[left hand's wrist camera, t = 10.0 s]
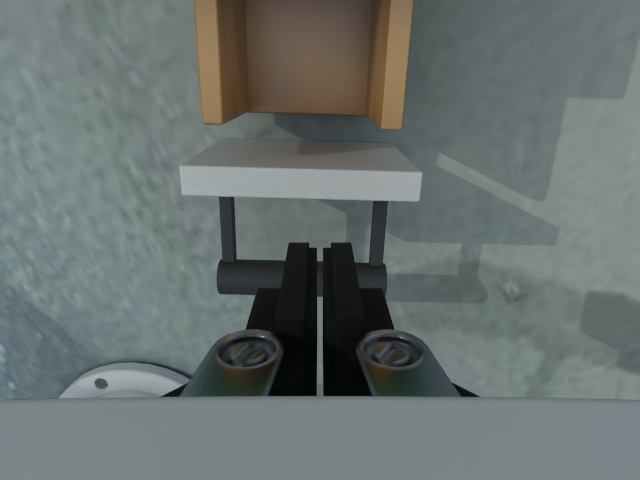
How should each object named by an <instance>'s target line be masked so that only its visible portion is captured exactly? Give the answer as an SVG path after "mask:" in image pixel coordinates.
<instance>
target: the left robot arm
mask: <svg viewBox="0 0 640 480" xmlns="http://www.w3.org/2000/svg"><path fill="white" fill-rule="evenodd" d="M316 395H317V248H309V243H289V245H288V251H287V256H286V261H285V267H284V272H283V277H282V283H281V288H258V290H257V293H256V296H255V300H254V303H253V306H252V310H251V313H250V316H249V320H248V323H247V327H246V330H242V331H237V332H234V333H231V334H228V335H226V336H224V337H222V338H221V339H219V340H218V341H217V342H216V343H215V344H214V345H213V346H212V348H211V349H210V351H209V352H208V354H207V355H206V357H205V358H204V360H203V361H202V363H201V364H200V366H199V367H198V369H197V370H196V372H195V373H194V375H193V376H192V378H191V379H188V378H187V377H185V376H183V375H181V374H179V373H176V372H174V371H172V370H169V369H167V368H163V367H159V366H155V365H151V364H144V363H134V362H129V363H114V364H110V365H105V366H101V367H97V368H95V369H93V370H91V371H88V372H86V373H84V374H82V375H81V376H80V377H78V378H77V379H76V380H74V381H73V382H72V383H71V384H70V385H69V386H68V387H67V388H66V389H65V391H64V392H63V393H62V394H61V395H60V397H59V398H53V399H21V400H0V480H640V400H621V399H584V398H525V397H479V396H477V395H475V394H473V393H471V392H469V391H467V390H465V389H464V388H462V387H460V386H458V385H456V384H454V383H452V382H451V381H450V379H449V378H448V376H447V375H446V373H445V372H444V370H443V369H442V367H441V366H440V364H439V363H438V361H437V360H436V358H435V357H434V355H433V354H432V352H431V351H430V349H429V348H428V346H427V345H426V344H425V343H424V342H423V341H422V340H421V339H419V338H418V337H416V336H414V335H412V334H409V333H406V332H403V331H398V330H394V327H393V323H392V320H391V316H390V313H389V310H388V306H387V303H386V300H385V296H384V293H383V290H382V288H359V283H358V277H357V272H356V267H355V261H354V256H353V251H352V245H351V243H331V248H323V395H324V396H316Z"/></svg>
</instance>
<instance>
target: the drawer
mask: <svg viewBox="0 0 640 480" xmlns="http://www.w3.org/2000/svg"><path fill="white" fill-rule="evenodd" d="M413 4H414V0H195V13H196V29H197V45H198V61H199V76H200V92H201V108H202V122H203V124H213V125H222V124H224V123H226V122H228V121H230V120H232V119H235V118H237V117H239V116H241V115H243V114H245V113H247V112H255V113H289V114H323V115H358V116H367V117H368V118H369V119H370V120H371V121H372V122H374V123H375V124H376V125H377V126H378V127H379V128H381V129H383V130H402V125H403V114H404V103H405V92H406V81H407V70H408V59H409V48H410V37H411V26H412V15H413ZM422 177H423V173H422V172H421V171H420V170H419V169H418V168H417V167H416V166H415V165H414V164H413V163H412V162H411V161H410V160H409V159H408V158H406V157H405V156H404V155H403V154H402V153H401V152H400V151H399V150H398V149H397V148H396V147H395V146H394V145H393V144H388V143H353V142H318V141H283V140H248V139H221V140H220V141H218V142H216V143H215V144H213V145H212V146H210V147H209V148H207V149H205V150H204V151H202V152H201V153H199V154H197V155H196V156H194V157H193V158H191V159H190V160H188V161H186V162H185V163H183V164H182V165H180V178H181V190H182V195H184V196H218V197H219V203H220V222H221V241H222V259H221V260H220V262H219V264H218V269H217V289H218V292H219V294H240V295H256V293H257V290H258V288H281V283H282V277H283V272H284V267H285V261H277V260H238V259H236V258H237V257H236V232H235V208H234V197H255V198H291V199H328V200H365V201H373V213H372V227H371V241H370V254H369V263H355V267H356V272H357V277H358V283H359V288H382V290H383V293H384V296H385V294H386V288H387V272H386V266H385V264H384V263H383V251H384V239H385V227H386V216H387V204H388V201H401V202H419V201H420V195H421V186H422ZM317 296H320V297H323V262H317Z"/></svg>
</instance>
